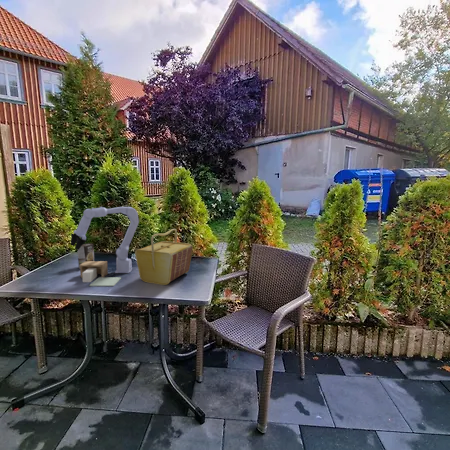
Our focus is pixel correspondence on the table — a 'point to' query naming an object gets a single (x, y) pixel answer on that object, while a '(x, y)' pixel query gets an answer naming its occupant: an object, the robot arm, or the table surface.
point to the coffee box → (85, 253)
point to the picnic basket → (163, 260)
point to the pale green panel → (105, 281)
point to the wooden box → (99, 265)
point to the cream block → (89, 274)
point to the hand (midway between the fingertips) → (74, 247)
